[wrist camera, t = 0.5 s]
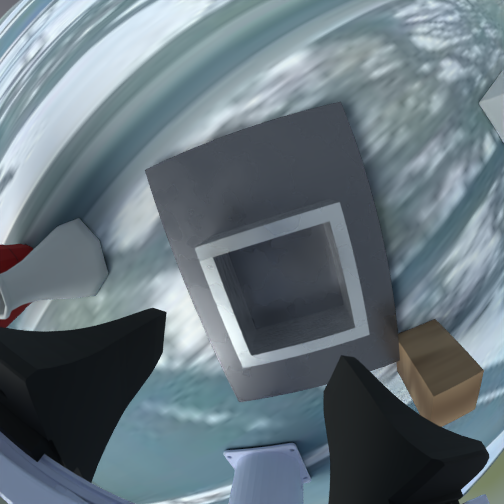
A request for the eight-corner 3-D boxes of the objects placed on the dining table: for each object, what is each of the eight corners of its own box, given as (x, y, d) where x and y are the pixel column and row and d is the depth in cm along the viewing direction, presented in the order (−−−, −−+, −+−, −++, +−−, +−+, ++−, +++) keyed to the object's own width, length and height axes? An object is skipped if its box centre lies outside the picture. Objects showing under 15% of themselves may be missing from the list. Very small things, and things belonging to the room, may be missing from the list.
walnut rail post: (435, 354, 20) (474, 409, 12) (397, 370, 21) (428, 432, 13) (434, 318, 19) (483, 370, 12) (394, 335, 20) (433, 396, 12)
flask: (83, 203, 20) (-10, 220, 10) (122, 277, 21) (40, 331, 12) (42, 244, 22) (-35, 271, 12) (76, 308, 23) (6, 357, 13)
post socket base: (396, 354, 20) (414, 385, 16) (240, 394, 23) (232, 430, 18) (337, 105, 17) (353, 84, 12) (151, 170, 19) (118, 168, 15)
